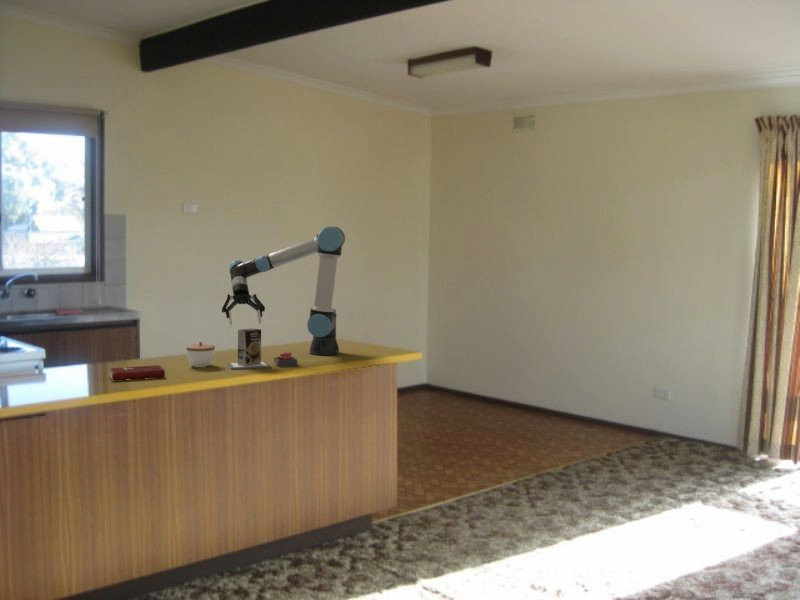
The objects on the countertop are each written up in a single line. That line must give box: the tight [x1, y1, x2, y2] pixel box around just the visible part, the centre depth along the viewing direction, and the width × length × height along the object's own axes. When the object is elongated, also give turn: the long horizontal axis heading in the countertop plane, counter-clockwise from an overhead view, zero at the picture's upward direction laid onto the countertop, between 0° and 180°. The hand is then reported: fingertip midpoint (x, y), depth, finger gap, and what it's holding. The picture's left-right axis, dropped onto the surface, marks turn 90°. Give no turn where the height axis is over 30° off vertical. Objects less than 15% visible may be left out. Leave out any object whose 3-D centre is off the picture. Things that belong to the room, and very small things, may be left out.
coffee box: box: [237, 328, 262, 366], centre depth 364 cm, size 9×6×16 cm
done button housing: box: [273, 356, 298, 367], centre depth 370 cm, size 9×9×3 cm
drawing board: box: [226, 361, 272, 370], centre depth 364 cm, size 18×13×1 cm
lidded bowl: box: [185, 341, 216, 368], centre depth 362 cm, size 13×13×11 cm
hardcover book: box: [108, 364, 166, 382], centre depth 334 cm, size 12×21×4 cm, turn 116°
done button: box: [279, 351, 292, 360], centre depth 370 cm, size 6×6×3 cm
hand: (245, 322), depth 372 cm, fingers open, 13 cm apart
